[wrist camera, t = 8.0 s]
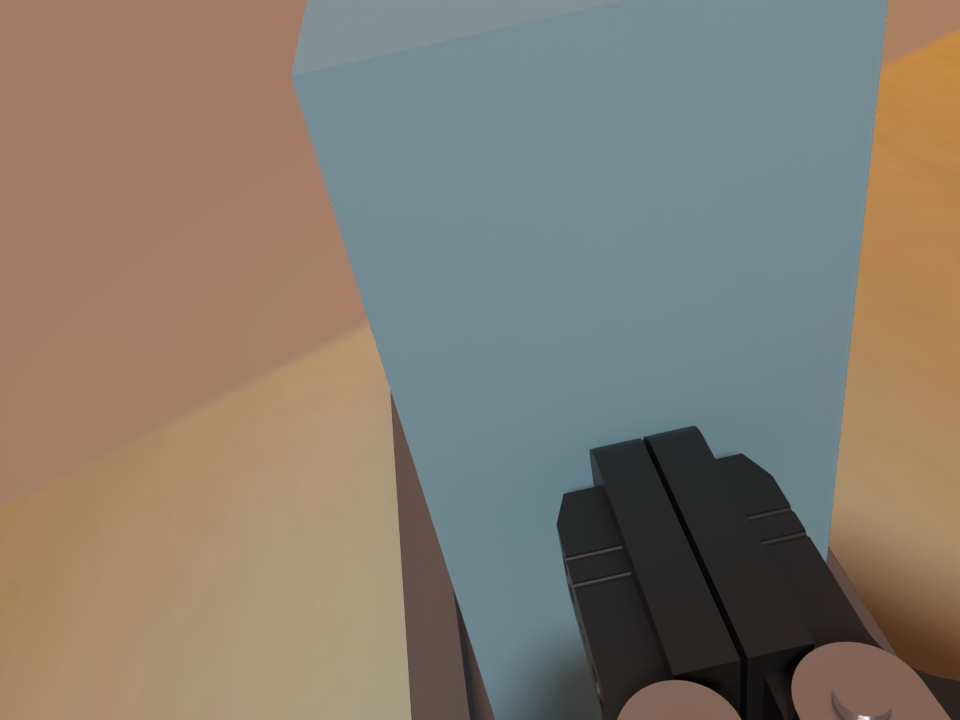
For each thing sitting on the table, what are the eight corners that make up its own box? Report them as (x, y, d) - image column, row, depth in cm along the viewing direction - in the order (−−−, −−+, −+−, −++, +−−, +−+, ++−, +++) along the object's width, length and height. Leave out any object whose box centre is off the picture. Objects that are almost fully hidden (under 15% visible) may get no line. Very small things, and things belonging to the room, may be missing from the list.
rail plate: (1188, 1188, 11) (1394, 1070, 7) (470, 1350, 11) (354, 1304, 7) (662, 309, 28) (654, 160, 25) (395, 369, 28) (352, 228, 25)
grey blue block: (812, 684, 15) (894, -62, 8) (506, 753, 15) (290, 76, 8) (634, 338, 25) (593, -145, 18) (446, 381, 25) (324, -83, 18)
